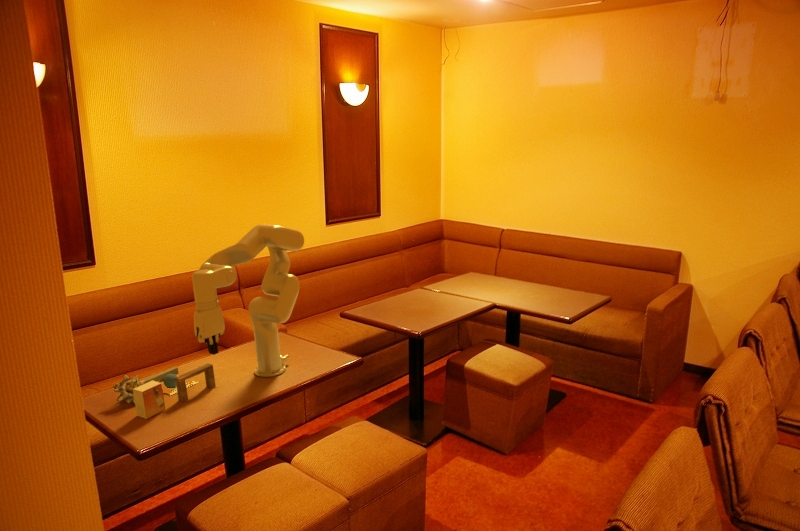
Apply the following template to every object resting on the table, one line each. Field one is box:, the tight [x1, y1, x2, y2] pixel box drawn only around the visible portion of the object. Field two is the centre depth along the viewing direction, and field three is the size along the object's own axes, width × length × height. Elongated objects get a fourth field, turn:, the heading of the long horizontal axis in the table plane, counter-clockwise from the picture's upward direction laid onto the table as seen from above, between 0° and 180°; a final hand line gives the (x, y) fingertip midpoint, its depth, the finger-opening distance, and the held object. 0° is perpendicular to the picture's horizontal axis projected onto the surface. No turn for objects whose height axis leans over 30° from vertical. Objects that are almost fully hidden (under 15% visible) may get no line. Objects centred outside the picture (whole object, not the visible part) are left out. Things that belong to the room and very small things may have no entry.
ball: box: [162, 374, 178, 388], centre depth 219 cm, size 6×6×6 cm
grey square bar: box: [143, 366, 179, 384], centre depth 226 cm, size 16×2×2 cm, turn 146°
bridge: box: [175, 362, 216, 403], centre depth 213 cm, size 3×14×9 cm, turn 146°
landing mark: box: [169, 380, 200, 397], centre depth 221 cm, size 13×13×1 cm
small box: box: [133, 380, 166, 420], centre depth 199 cm, size 8×6×10 cm
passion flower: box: [112, 374, 145, 405], centre depth 210 cm, size 11×11×12 cm
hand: (213, 353), depth 202 cm, fingers closed
